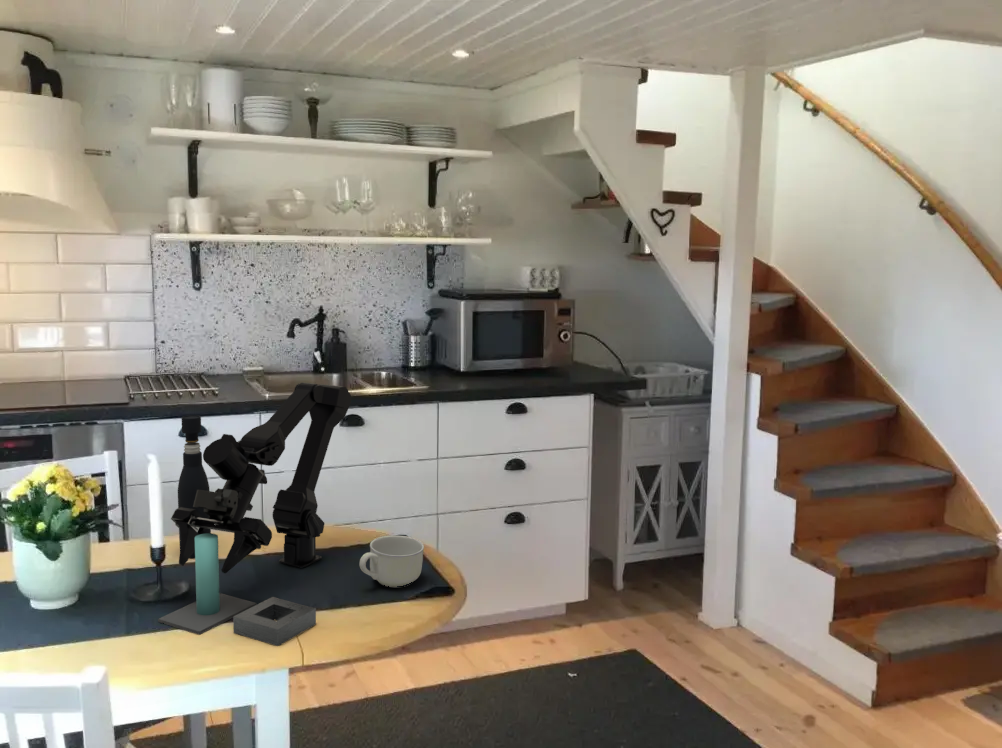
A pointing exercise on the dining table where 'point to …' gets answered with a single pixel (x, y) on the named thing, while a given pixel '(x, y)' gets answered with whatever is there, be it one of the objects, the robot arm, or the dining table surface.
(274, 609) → the socket block
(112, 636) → the dining table surface
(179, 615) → the rubber pad
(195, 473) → the black bottle
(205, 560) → the teal peg
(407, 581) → the teacup
